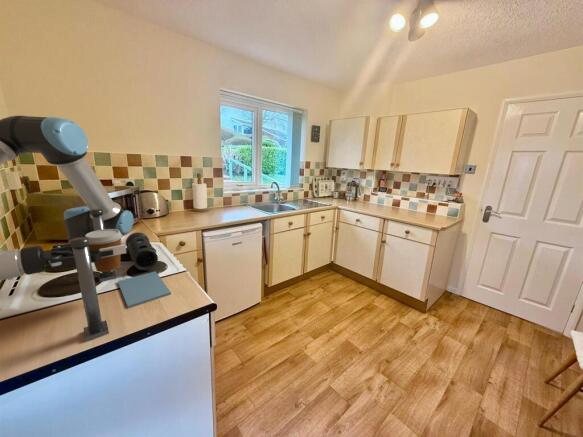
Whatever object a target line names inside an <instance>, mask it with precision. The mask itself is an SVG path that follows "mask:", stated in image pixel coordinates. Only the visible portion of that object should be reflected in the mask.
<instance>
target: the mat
mask: <svg viewBox="0 0 583 437" xmlns="http://www.w3.org/2000/svg"><path fill="white" fill-rule="evenodd" d="M117 284H118V286H119V288H120V291H121V294H122V297H123V298H124V301H125V304H126V306H127V309H130V308H133V307H137V306H140V305H143V304H145V303H148V302H151V301H154V300H157V299H161V298H163V297H167V296H169V295H170V296H171V294H172V292H171V290H170V289H169V287H168V286H167V284H165V282H164V281H163V279H162V278H161V277H160V275H159V274H158V273H157V271H152V272H149V273H144V274H140V275H136V276H131V277H128V278H124V279H120V280H118V281H117Z"/></svg>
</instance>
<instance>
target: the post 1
mask: <svg viewBox="0 0 583 437" xmlns="http://www.w3.org/2000/svg"><path fill="white" fill-rule="evenodd" d="M69 242H70V247H71V248H72V249H73V254H74V259H75V264H76V265H75V268H76V273H77V278H78V283H79V288H80V293H81V297H82V299H81V300H82V303H83V308H84V314H85V318H86V323H87V326H85V327H83V334H84V342H85V343H86V342H90V341H92V340H95V339H98V338H100V337H103V336H105V335H108V334H110V331H109V330H110V329H109V326H108V323H107V320H106V319H105V320H103V319H102V315H101V309H100V304H99V297H98V292H97V286H96V281H95V280H96V279H95V276H94V270H93V264H92V263H91V258H90V253H89V247H88V245H89V238H88V237H79V238H74V239H71V240H69V239H68V243H69Z"/></svg>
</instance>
